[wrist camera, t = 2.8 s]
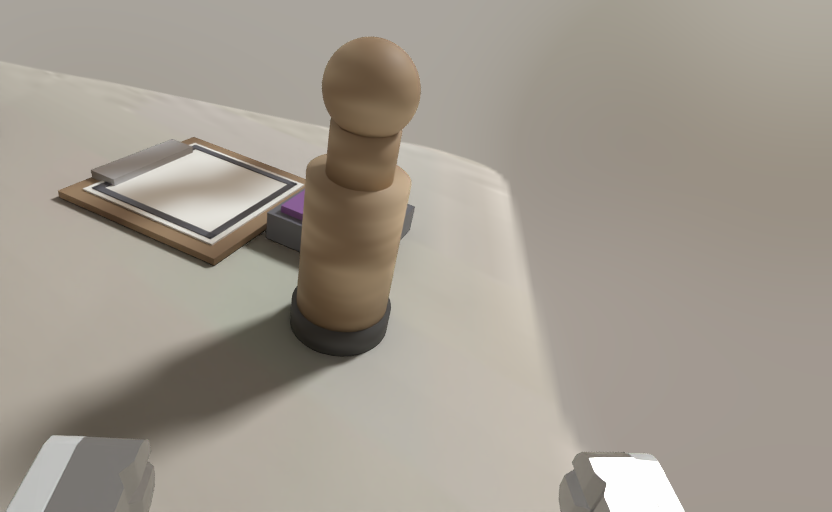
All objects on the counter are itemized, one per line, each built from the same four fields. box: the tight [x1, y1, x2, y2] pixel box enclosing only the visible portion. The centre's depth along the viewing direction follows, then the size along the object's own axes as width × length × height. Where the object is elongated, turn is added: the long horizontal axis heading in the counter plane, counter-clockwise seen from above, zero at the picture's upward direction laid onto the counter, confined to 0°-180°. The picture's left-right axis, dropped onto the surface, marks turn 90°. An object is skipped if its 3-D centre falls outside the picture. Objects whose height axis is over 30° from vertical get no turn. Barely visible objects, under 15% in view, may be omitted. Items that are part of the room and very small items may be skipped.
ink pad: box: [266, 188, 415, 252], centre depth 30 cm, size 6×6×2 cm
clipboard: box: [58, 137, 306, 265], centre depth 31 cm, size 10×10×1 cm
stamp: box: [290, 37, 421, 356], centre depth 21 cm, size 4×4×12 cm
